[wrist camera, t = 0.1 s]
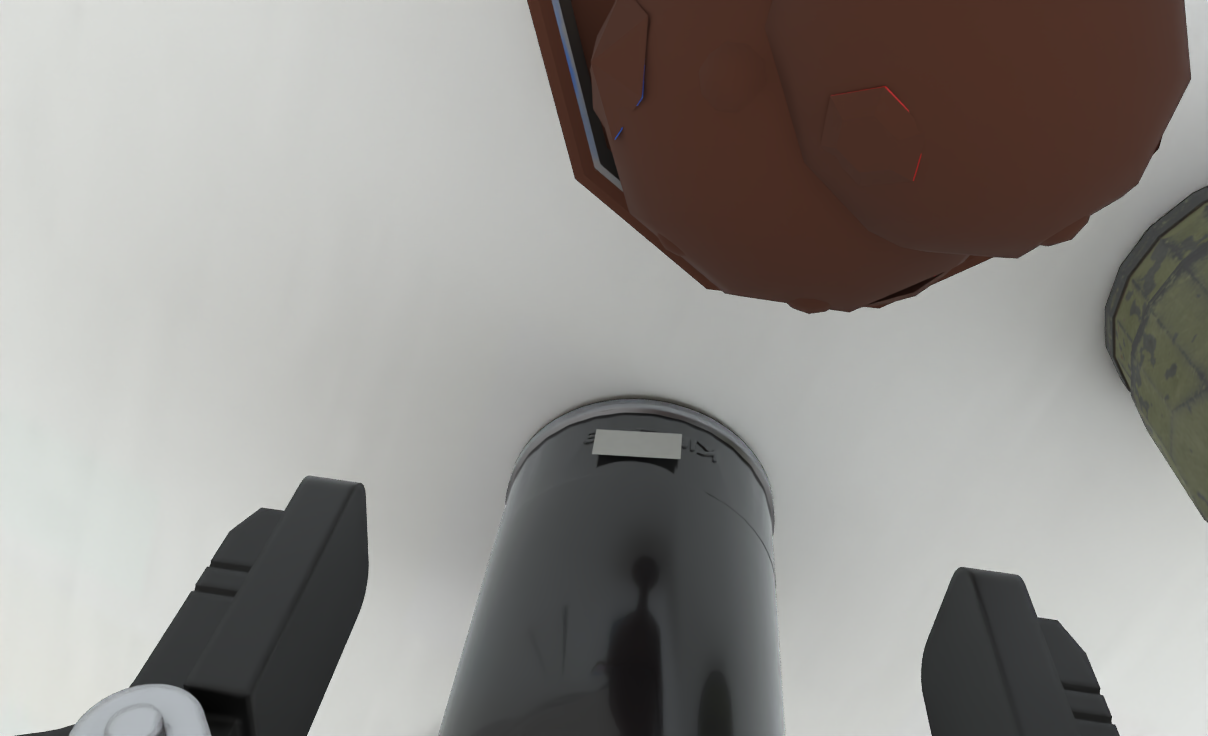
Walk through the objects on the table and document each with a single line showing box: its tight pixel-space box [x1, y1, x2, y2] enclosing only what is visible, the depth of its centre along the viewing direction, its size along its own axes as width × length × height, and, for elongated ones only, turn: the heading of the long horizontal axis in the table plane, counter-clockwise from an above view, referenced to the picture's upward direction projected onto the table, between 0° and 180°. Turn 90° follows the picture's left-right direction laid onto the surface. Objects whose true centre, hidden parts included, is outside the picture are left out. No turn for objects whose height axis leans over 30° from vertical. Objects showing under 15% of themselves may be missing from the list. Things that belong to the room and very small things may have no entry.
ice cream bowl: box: [527, 0, 1191, 314], centre depth 18 cm, size 11×11×15 cm
